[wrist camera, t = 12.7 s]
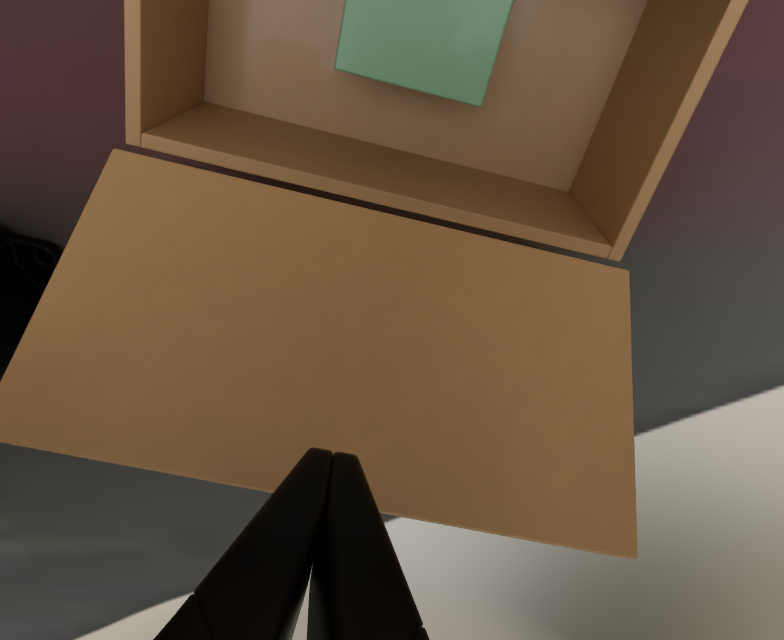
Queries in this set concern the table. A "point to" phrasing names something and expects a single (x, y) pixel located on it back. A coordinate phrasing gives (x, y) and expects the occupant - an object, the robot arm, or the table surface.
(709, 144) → the table surface
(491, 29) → the block
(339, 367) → the flap
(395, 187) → the carton
